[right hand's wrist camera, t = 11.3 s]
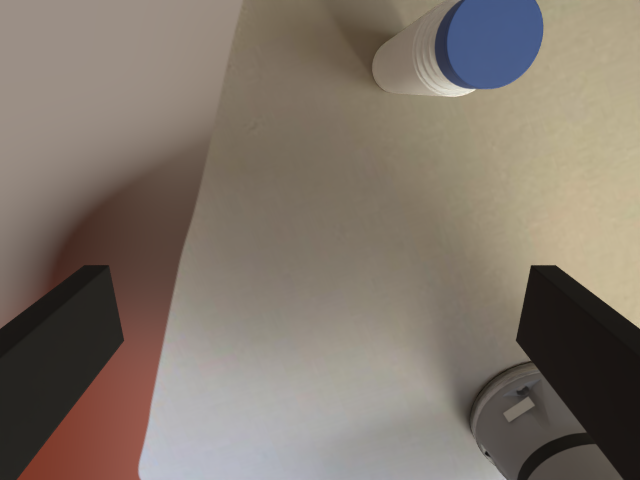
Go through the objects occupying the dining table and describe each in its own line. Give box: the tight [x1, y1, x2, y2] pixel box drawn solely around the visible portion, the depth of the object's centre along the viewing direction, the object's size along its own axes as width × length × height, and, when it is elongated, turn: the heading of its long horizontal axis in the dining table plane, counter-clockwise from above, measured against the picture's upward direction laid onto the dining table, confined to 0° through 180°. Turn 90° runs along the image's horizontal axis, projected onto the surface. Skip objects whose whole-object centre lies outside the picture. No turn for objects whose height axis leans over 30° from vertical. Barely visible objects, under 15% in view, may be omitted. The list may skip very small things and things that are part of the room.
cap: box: [435, 0, 543, 89], centre depth 17 cm, size 4×4×2 cm
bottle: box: [372, 0, 476, 97], centre depth 26 cm, size 4×4×21 cm
